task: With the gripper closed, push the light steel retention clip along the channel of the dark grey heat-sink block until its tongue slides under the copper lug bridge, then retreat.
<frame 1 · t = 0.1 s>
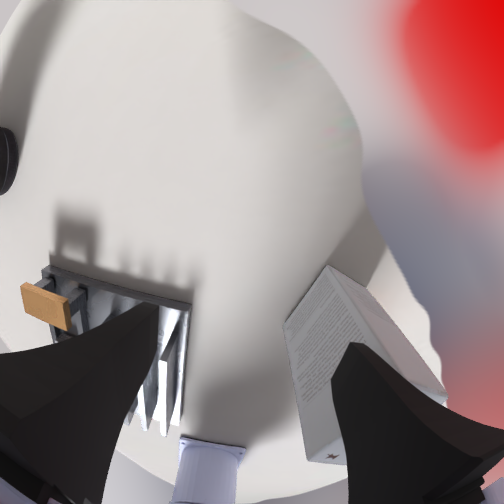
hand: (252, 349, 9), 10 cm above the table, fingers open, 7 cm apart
heatsink: (114, 353, 22), on the table
clip: (68, 380, 19), point 4 cm above the table, slide at 0.0 cm
skincare box: (325, 304, 20), on the table, touching gripper
camera lens: (2, 161, 17), on the table
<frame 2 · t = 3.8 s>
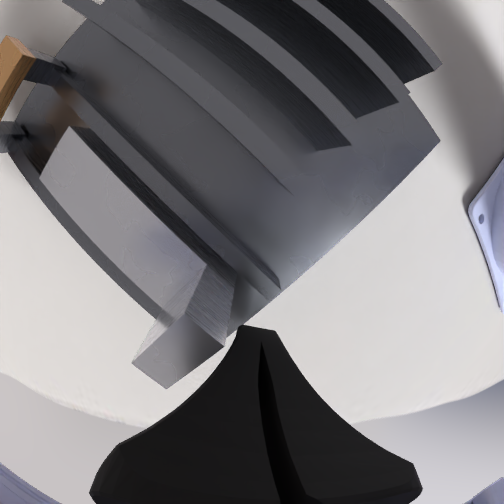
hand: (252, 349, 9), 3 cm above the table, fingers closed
heatsink: (188, 115, 10), on the table
clip: (108, 234, 7), point 4 cm above the table, slide at 1.0 cm, touching gripper
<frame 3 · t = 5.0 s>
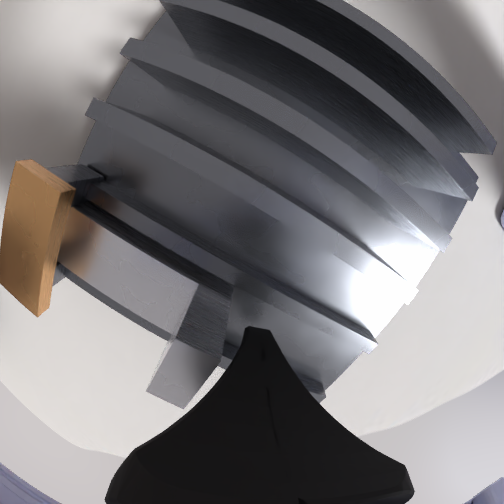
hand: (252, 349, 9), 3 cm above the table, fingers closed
heatsink: (260, 206, 11), on the table
clip: (102, 278, 8), point 4 cm above the table, slide at 6.2 cm, touching gripper
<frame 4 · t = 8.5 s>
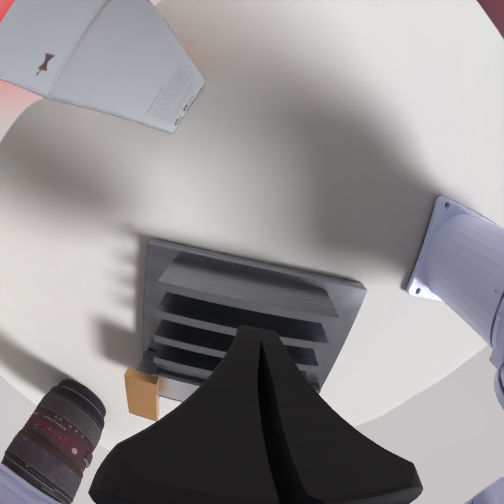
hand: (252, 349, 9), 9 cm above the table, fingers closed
heatsink: (240, 344, 21), on the table
clip: (183, 400, 18), point 4 cm above the table, slide at 6.0 cm
skincare box: (154, 90, 15), on the table
camera lens: (82, 397, 24), on the table
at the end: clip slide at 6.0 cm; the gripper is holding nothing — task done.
